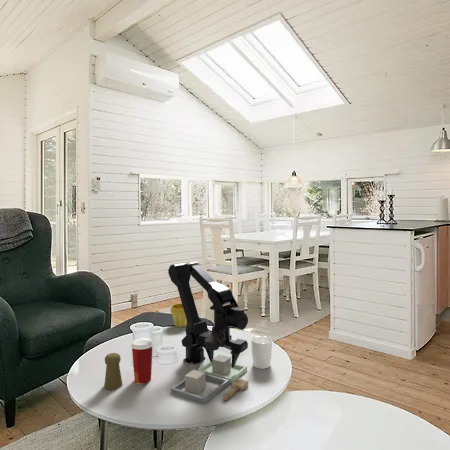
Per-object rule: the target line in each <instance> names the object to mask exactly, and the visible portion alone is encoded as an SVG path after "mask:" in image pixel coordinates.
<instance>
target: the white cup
mask: <svg viewBox="0 0 450 450" xmlns="http://www.w3.org/2000/svg"><path fill="white" fill-rule="evenodd" d="M272 339H273V338H271V337H269V336H265V335H258V336H256V335H255V336H253V337H252V338H251V341H250V342H251V356H252V366H253V367H254V368H256V369H260V370H261V369H262V370H264V369H265V368H266V369H268V368H270V367H271V365H272V364H271V363H272V362H271V359H272V349H273V340H272Z"/></svg>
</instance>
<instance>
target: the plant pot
mask: <svg viewBox="0 0 450 450" xmlns="http://www.w3.org/2000/svg"><path fill="white" fill-rule="evenodd" d="M170 314H171V315H172V319H173V325H174V326H175V327H177V328H184V327H185V328H186V325H187V320H186V316H185V313H184V309H183V306H182V302H180V303H174V304H172V305H171V306H170Z"/></svg>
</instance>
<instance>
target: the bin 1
mask: <svg viewBox="0 0 450 450" xmlns="http://www.w3.org/2000/svg"><path fill="white" fill-rule="evenodd" d="M206 380H208V381H212V382H215V383H218V384H219V386H217V387H216V388H215V389H214V390H212V391H211V392H210V393H209V394H207V395H206V396H205V397H203V396H201V395H198V394H196V393H193V392H190V391H186V390H185V391H184V390H181V389H182V388H183V387H185V378H184V379H183V380H181V381H180V382H179V383H176V384H175V385H174V386H172V387H171V388H170V393H171V394H173V395H177V396H179V397H183V398H185V399H189V400H192V401H195V402H197V403H202V404H204V405H207V404H208V403H209V402H210V401H211V400H212V399H213V398H214V397H216V396H217V395H218V394H219V393H220V392H221V391H223V390H224V389H225V388H226V387H228V386H229V385H230V383H229V380H227V379H223V378H220V377H216V376H212V375H209V374H206Z"/></svg>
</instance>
